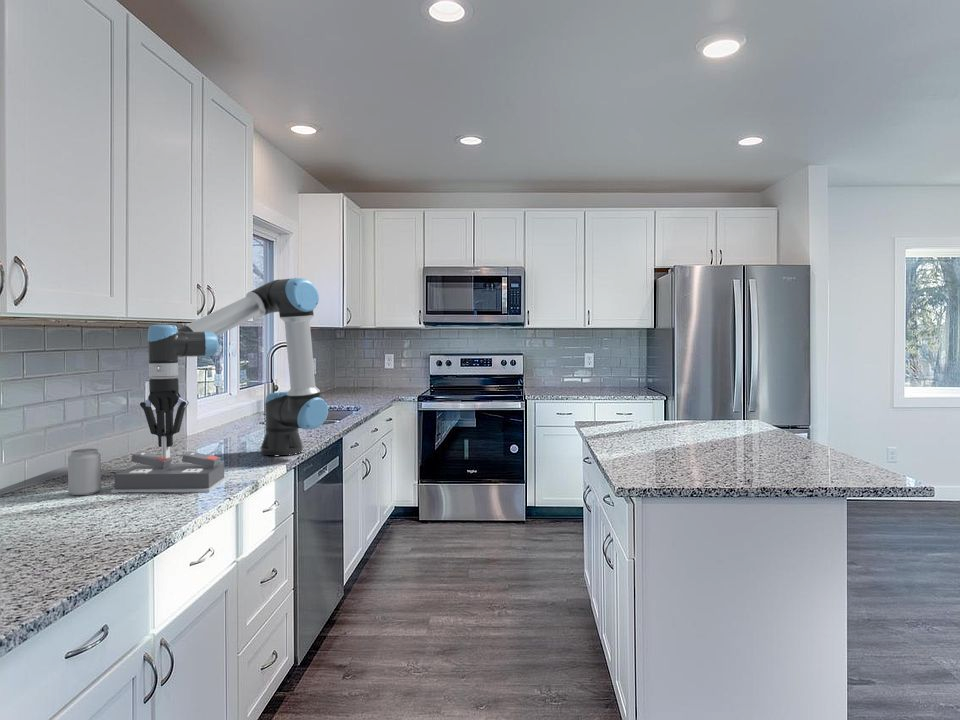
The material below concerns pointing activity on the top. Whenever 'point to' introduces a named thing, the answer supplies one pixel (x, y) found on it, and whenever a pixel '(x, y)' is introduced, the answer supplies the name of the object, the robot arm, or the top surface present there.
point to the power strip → (169, 478)
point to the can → (84, 472)
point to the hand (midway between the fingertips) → (166, 457)
